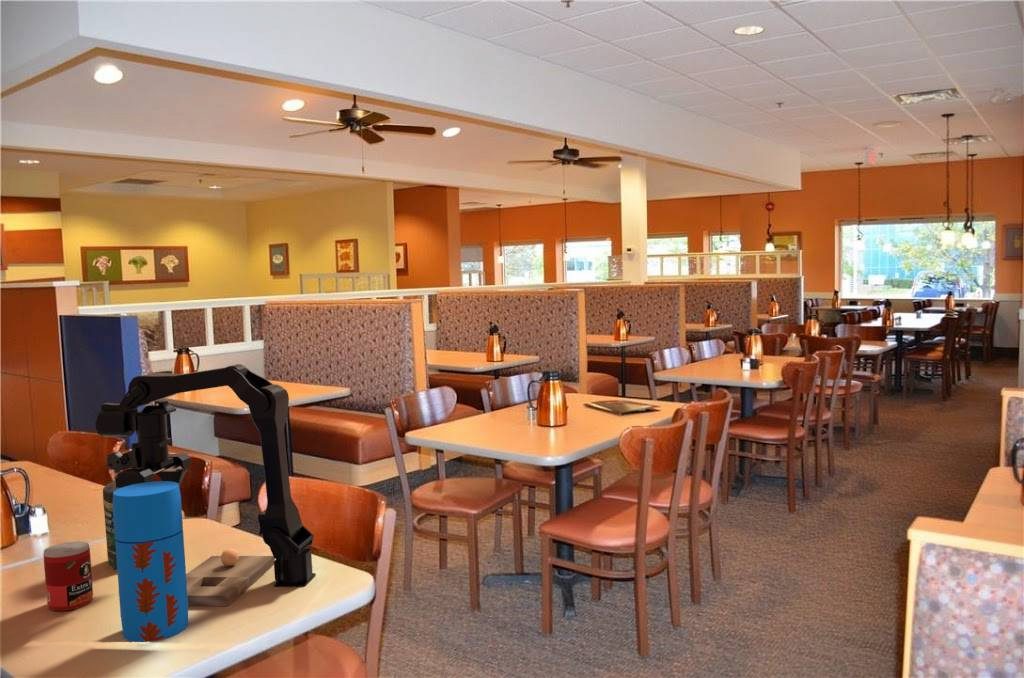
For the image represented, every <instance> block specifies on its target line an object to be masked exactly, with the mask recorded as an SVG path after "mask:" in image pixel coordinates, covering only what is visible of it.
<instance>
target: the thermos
mask: <svg viewBox="0 0 1024 678" xmlns="http://www.w3.org/2000/svg"><path fill="white" fill-rule="evenodd" d="M182 508H183V507H182V495H181V489H180V487H179V484H178V483H176V482H170V481H162V480H161V481H160V480H159V481H153V482H145V483H139V484H133V485H129V486H125V487H122V488H119V489H117V490H115V491H114V492H113V518H114V532H115V545H116V559H117V570H116V573H117V582H118V583H117V587H118V599H119V610H120V621H121V629H122V635H123V638H124V639H125V640H126V641H128V642H132V643H151V642H156V641H160V640H164V639H165V640H166V639H169V638H171V637H173V636H175V635H178V634H180V633H182V632H183V631H184V630H186V629H187V627H188V626H189V606H188V596H187V581H186V574H187V570H186V569H187V568H186V555H185V539H184V526H183V509H182Z"/></svg>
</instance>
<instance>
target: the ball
mask: <svg viewBox="0 0 1024 678" xmlns="http://www.w3.org/2000/svg"><path fill="white" fill-rule="evenodd" d="M220 556H221V562H222V563H223V564H224V565H226V566H232V565H234V564H236V563H237V561H238V558H239V556H240V555H239V552H238V551H237V550H236V549H235V548H227V549H225V550H223V552H222V553H221V555H220Z"/></svg>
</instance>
